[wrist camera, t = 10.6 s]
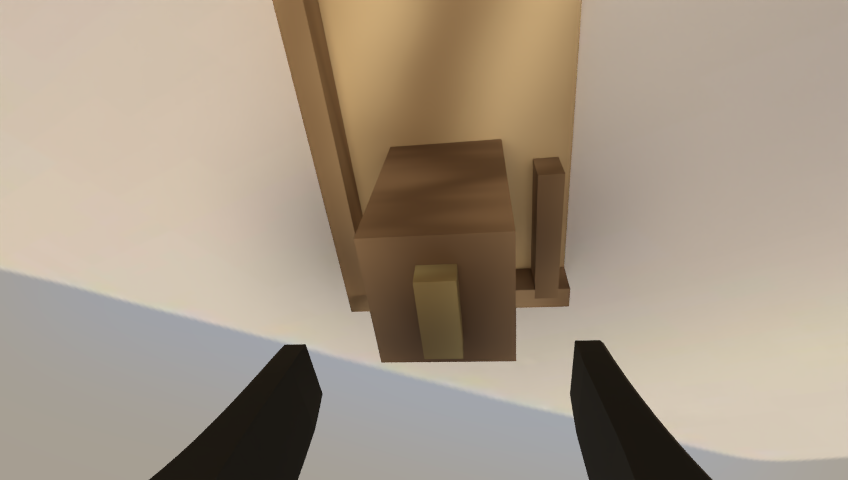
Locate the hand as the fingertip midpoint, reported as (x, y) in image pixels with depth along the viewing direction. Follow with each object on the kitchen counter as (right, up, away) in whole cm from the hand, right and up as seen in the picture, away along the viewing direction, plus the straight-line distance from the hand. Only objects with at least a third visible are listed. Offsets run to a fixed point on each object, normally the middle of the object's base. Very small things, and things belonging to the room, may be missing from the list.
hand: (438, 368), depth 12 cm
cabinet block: (+1, +5, +7) cm, 9 cm away
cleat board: (0, +9, +6) cm, 11 cm away
